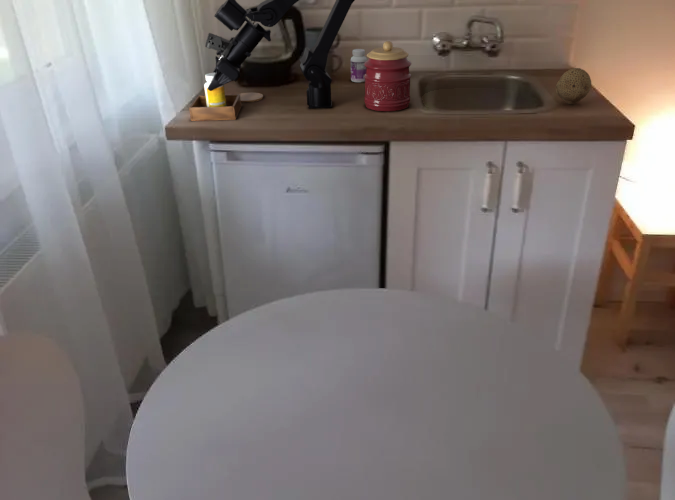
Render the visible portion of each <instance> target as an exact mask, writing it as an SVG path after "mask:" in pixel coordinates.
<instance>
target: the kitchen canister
mask: <svg viewBox="0 0 675 500" xmlns="http://www.w3.org/2000/svg"><path fill="white" fill-rule="evenodd" d="M408 57H409V53H408V52H407V51H405V50H404V49H403V48H402V47H397V46H394V45H393V43H392V42H391V41H390V40H386V41H384V42H383V45H382V46H380V47H375V48H373V49H372V50H371V51H370V52H368V53H367V54H366V58H367V61H366V62H365V63H364V66H365V67H366V74H365V75H364V78H365V82H364V97H363V98H364V100H363V101H364V103H365V104H364V106H365V107H366V108H367V109H369V110H372V111H377V112H397V111H402V110H405V109H407V108H408V107H410V103H411V78H412V74H411V73H410V67H411V66H412V62H411V60H409V59H408Z"/></svg>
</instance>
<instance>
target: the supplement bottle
mask: <svg viewBox="0 0 675 500" xmlns="http://www.w3.org/2000/svg"><path fill="white" fill-rule="evenodd" d="M214 75H215V73H213V72H209V73H206V74H205V75H204V77H205V83H204V84H203V89H204V95H205V96H206V104H207V107H219V106H226V98H225V95H226V91H225V84H224V85H222V86H220V87H218V88H216V89H214V90H212V91H210V90H208V86H209V84H210V83H211V81H212V79H213V77H214Z"/></svg>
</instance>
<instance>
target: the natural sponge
mask: <svg viewBox="0 0 675 500" xmlns="http://www.w3.org/2000/svg"><path fill="white" fill-rule="evenodd" d="M591 88H592V79H591V76H590V75H589V73H588V72H587V71H586V69H585V70H584V69H582V68H581V67H573V68H570V69H567V70H566V71H565V72H564V73H563V74H562V75H561V76H560V77H559V79H558V81H557V83H556V85H555V95H556V96H558V97H559V98H560V99H561V100H562V101H563V102H565V104H568V105H575V104H577V103H579V102H580V101H581V100H583V99H584V98H586V97H587V95H588V94H589V93H590V91H591Z"/></svg>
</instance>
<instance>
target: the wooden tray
mask: <svg viewBox="0 0 675 500" xmlns="http://www.w3.org/2000/svg"><path fill="white" fill-rule="evenodd" d="M237 94H238V95H237ZM237 94H225V98H226V106H219V107H207V104H206V96H205V94H204V95H197V96H196V97H195V99H194V100H193V101H192V103H191V105H190V106H189V107H188V110H189V117H190V121H191V122H196V121H198V122H201V121H204V122H205V121H232V120H233V121H234V120H235V121H236V120H237V118H238V116H239V113H240V111H241V109H242V102H241V98H240V94H241V93H237Z"/></svg>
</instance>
